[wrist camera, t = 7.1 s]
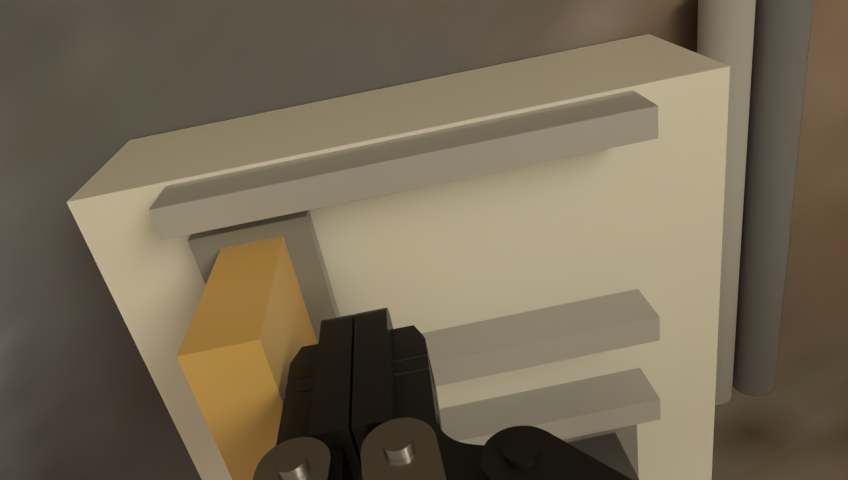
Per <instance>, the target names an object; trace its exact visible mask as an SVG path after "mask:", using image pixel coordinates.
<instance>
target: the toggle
mask: <svg viewBox="0 0 848 480" xmlns="http://www.w3.org/2000/svg"><path fill="white" fill-rule="evenodd" d="M563 441H565V442H567V443H568V444H570V445H572V446H574V447H576V448H577V449H579V450H581V451H583V452H584V453H586V454H588V455H590V456H591V457H593V458H595V459H597V460H599V461H600V462H602V463H604V464H606V465H607V466H609V467H611V468H613V469H614V470H616V471H618V472H620V473H622V474H623V475H625V476H627V477H629V478H630V479H632V480H639V476H638V443H637V424H636V425H631V426H626V427H621V428H616V429H612V430H607V431H602V432H597V433H592V434H587V435H582V436H578V437H573V438H568V439H563Z"/></svg>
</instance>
